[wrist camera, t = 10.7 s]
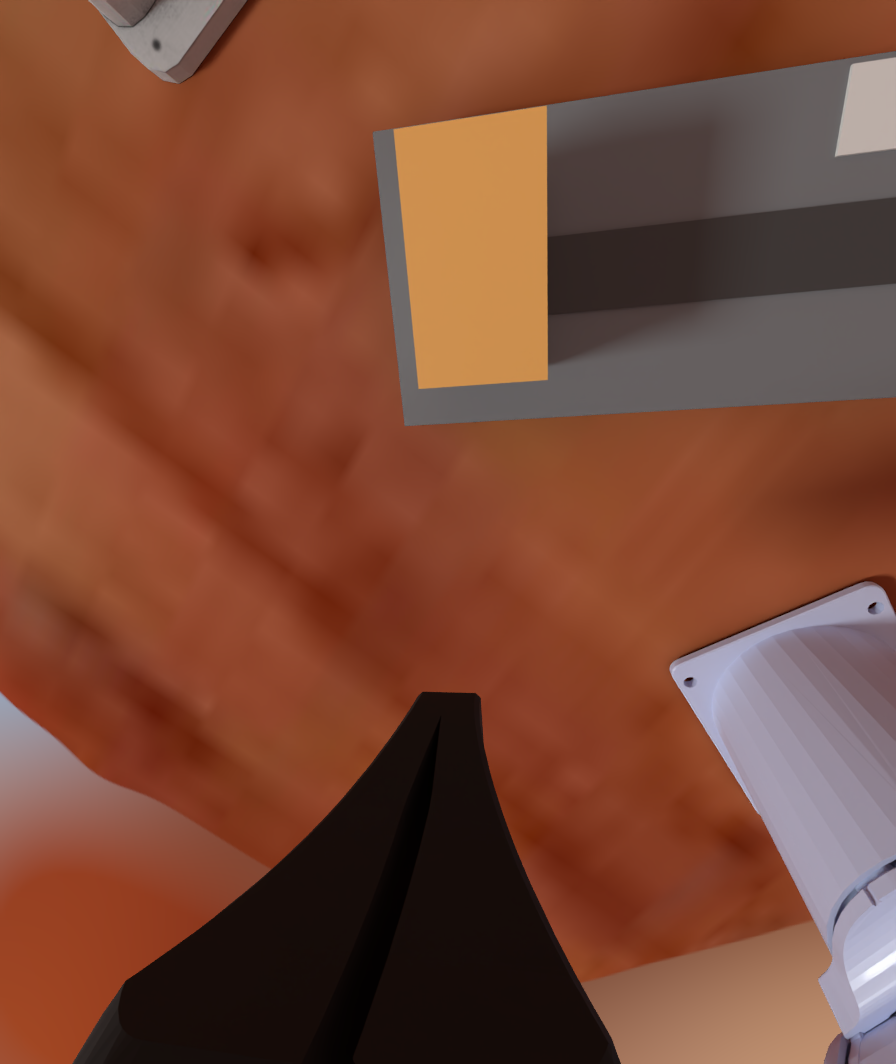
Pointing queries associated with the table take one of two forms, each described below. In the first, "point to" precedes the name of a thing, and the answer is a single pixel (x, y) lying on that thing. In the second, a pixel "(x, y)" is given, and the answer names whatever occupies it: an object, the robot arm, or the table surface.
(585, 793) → the table surface
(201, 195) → the table surface
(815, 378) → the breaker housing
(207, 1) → the emergency button
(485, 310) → the knob
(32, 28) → the table surface
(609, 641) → the table surface
